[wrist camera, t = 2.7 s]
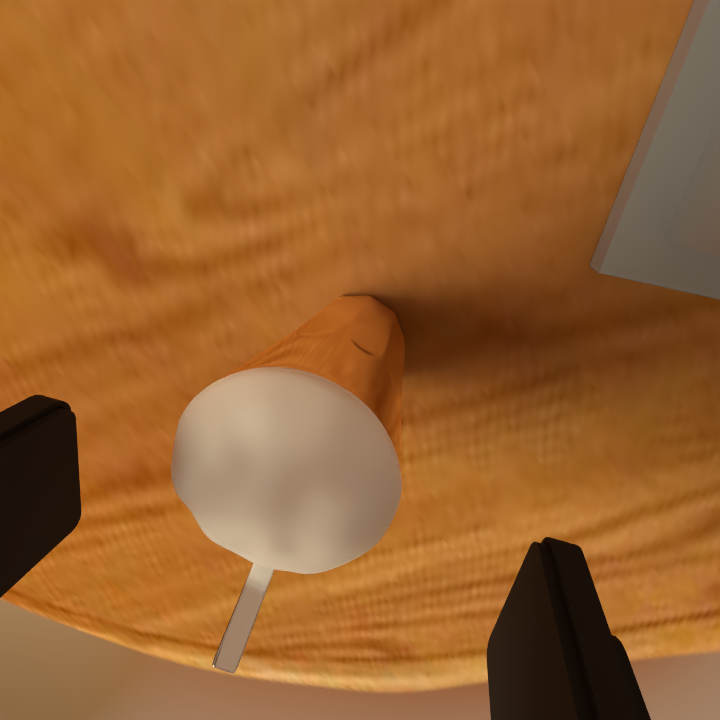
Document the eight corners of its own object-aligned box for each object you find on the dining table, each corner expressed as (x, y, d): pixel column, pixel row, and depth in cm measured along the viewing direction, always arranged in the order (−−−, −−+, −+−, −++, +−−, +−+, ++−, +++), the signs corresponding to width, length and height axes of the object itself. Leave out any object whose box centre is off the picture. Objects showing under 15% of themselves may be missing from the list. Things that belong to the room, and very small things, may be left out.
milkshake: (282, 393, 18) (108, 630, 9) (309, 258, 16) (113, 387, 7) (396, 429, 18) (338, 712, 8) (440, 296, 15) (425, 486, 6)
